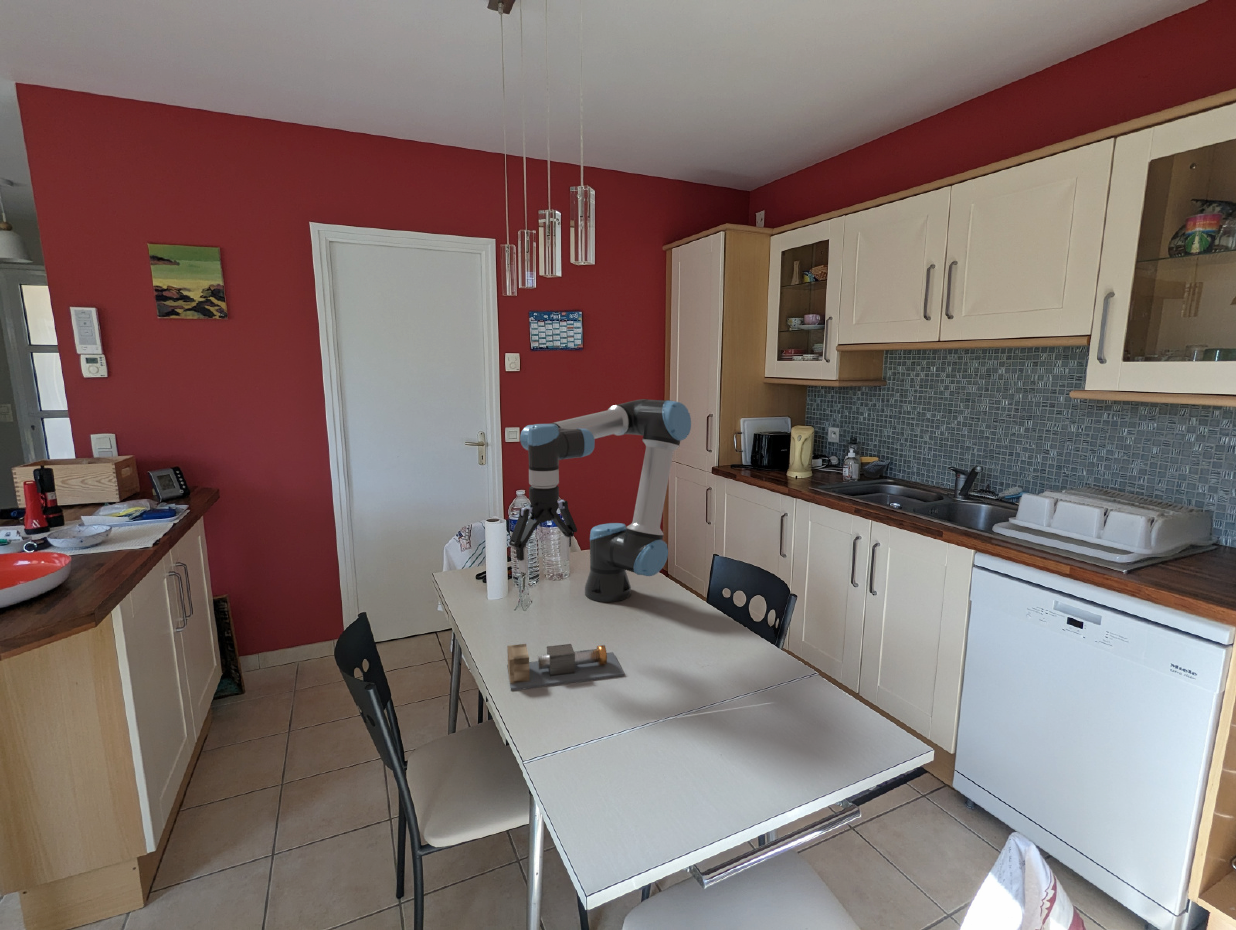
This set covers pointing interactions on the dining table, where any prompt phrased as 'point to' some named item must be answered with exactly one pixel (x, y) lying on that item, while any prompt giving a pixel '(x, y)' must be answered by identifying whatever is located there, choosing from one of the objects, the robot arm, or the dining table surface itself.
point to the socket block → (518, 663)
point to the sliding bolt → (579, 657)
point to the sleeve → (561, 660)
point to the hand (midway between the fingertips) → (544, 565)
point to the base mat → (581, 674)
